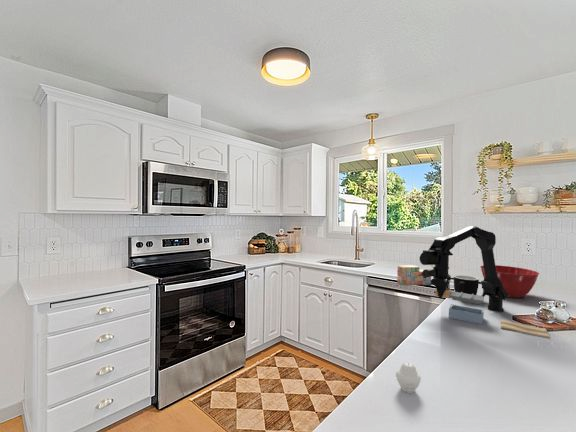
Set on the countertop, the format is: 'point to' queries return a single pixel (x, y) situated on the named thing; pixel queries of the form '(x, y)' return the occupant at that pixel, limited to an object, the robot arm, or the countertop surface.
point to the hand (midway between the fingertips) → (440, 297)
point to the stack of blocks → (411, 276)
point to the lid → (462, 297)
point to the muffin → (408, 377)
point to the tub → (466, 314)
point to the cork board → (524, 328)
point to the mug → (465, 284)
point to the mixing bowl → (515, 280)
